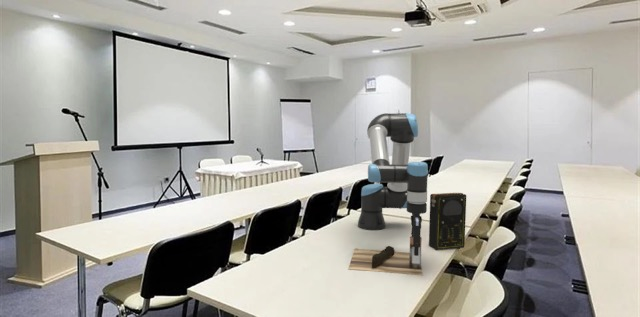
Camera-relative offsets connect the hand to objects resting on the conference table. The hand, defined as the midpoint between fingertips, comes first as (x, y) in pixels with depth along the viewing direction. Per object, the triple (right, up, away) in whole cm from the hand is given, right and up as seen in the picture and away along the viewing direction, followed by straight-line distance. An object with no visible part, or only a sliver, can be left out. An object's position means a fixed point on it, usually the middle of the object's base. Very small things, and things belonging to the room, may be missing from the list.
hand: (415, 258), depth 144 cm
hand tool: (-12, -3, +6) cm, 13 cm away
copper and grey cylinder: (0, -4, 0) cm, 4 cm away
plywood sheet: (-10, -3, +7) cm, 13 cm away
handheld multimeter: (+21, -2, +26) cm, 33 cm away
